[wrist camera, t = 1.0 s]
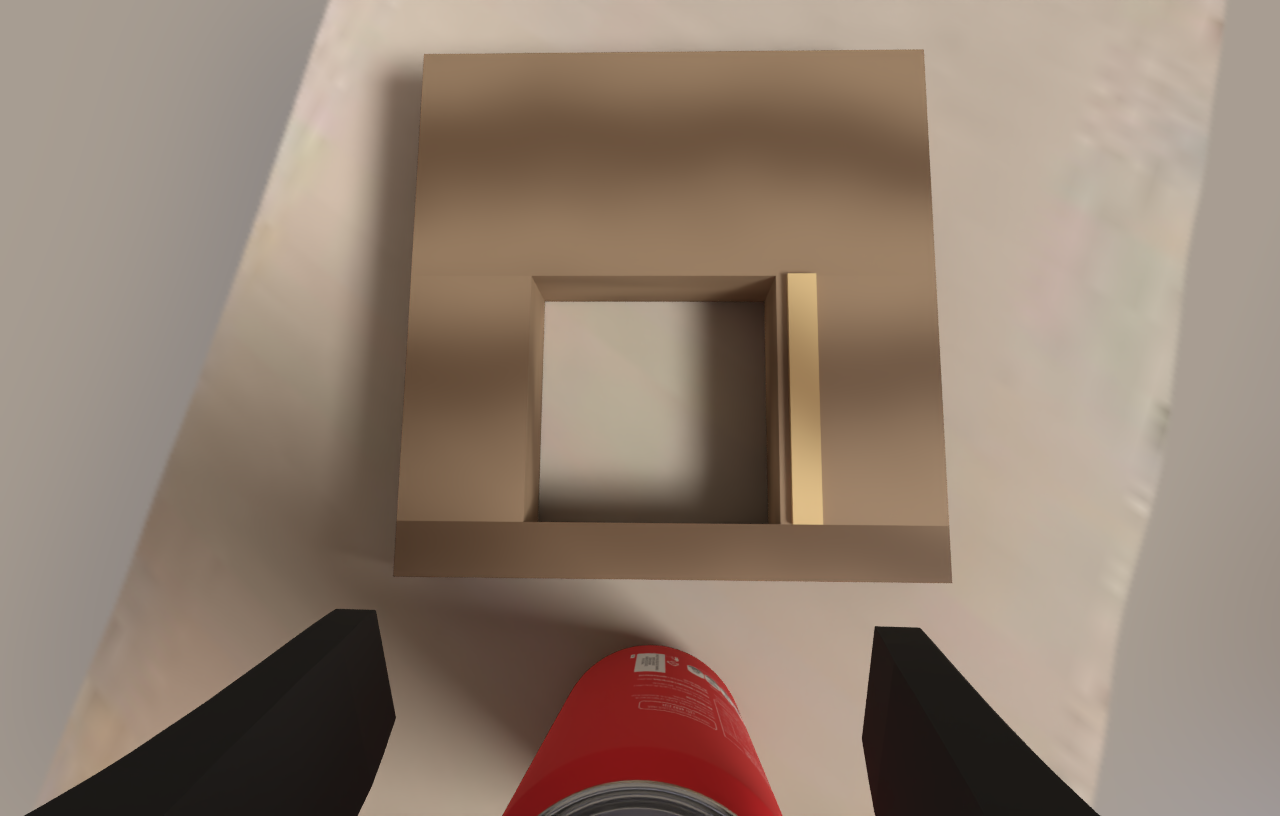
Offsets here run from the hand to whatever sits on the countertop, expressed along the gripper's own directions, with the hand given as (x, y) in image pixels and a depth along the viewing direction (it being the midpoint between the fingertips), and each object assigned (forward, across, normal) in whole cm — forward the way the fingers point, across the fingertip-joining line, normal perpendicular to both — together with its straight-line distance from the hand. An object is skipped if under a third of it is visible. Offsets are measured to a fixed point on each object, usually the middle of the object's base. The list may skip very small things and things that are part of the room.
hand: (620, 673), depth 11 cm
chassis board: (+15, 0, -1) cm, 15 cm away
